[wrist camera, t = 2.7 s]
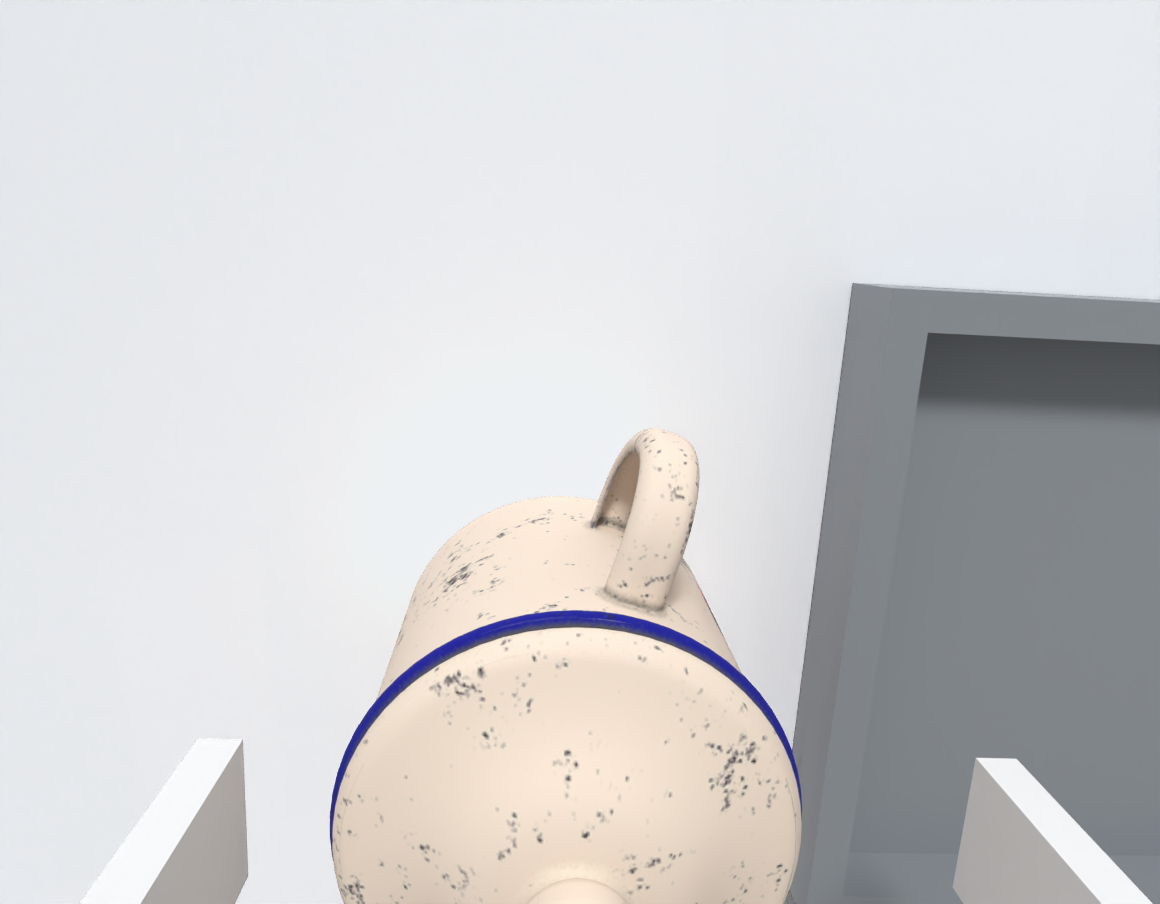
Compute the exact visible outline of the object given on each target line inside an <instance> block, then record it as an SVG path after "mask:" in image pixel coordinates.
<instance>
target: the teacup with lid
mask: <svg viewBox="0 0 1160 904" xmlns="http://www.w3.org/2000/svg"><path fill="white" fill-rule="evenodd" d="M698 490H699V464H698V459H697V455H696V452H695V450H694V448H693V446H692V445H691V444H690V443H689V441H688V440H686V439H685V438H683V437H681V436H679V435H677V434H674V433H671V432H668V431H665V430H661V429H656V428H649V429H645V430H642V431H640V432H639V433H637V434H636V435H635V436H633V437H632V438H631V439H630V440H629V442H628V443H627V444H626V445H625V446H624V448H623V449H622V451H621V452H620V454H619V455H618V457H617V459H616V461H615V463H614V465H613V467H612V469H611V471H610V473H609V475H608V478H607V480H606V482H605V485H604V487H603V490H602V492H601V495H600V498H599V500H598V501H595V500H591V499H585V498H578V497H564V496H556V497H541V498H533V499H527V500H523V501H519V502H515V503H512V504H509V505H506V506H502V507H500V508H497V509H495V510H493V511H491V512H488V513H486V514H484V515H483V516H481V517H479V518H477V519H475V520H474V521H472V522H471V523H469V524H468V525H466V526H465V527H464V528H462V529H461V530H460V531H458V532H457V533H456V534H455V535H454V536H453V537H451V538H450V539H449V540H448V541H447V542H446V543H445V544H444V545H443V546H442V547H441V548H440V549H439V551H438V552H437V553H436V555H435V556H434V557H433V558H432V560H431V561H430V562H429V564H428V565H427V567H426V569H425V570H424V572H423V573H422V575H421V577H420V579H419V581H418V583H417V585H416V587H415V590H414V592H413V595H412V598H411V601H410V603H409V606H408V609H407V612H406V615H405V618H404V621H403V624H402V627H401V630H400V633H399V636H398V638H397V641H396V644H395V647H394V650H393V653H392V656H391V659H390V662H389V665H388V668H387V670H386V673H385V676H384V679H383V682H382V685H381V688H380V691H379V694H378V697H377V700H376V702H375V703H374V704H373V705H372V707H371V708H370V709H369V710H368V712H367V713H366V715H365V716H364V718H363V720H362V721H361V723H360V724H359V726H358V727H357V729H356V731H355V732H354V734H353V736H352V739H351V741H350V743H349V745H348V747H347V749H346V751H345V753H344V756H343V759H342V762H341V764H340V767H339V770H338V773H337V777H336V781H335V785H334V790H333V795H332V803H331V811H330V841H331V850H332V857H333V861H334V869H335V874H336V878H337V883H338V887H339V891H340V894H341V896H342V899H343V902H344V904H784V902H785V900H786V897H787V895H788V892H789V889H790V887H791V884H792V881H793V877H794V874H795V870H796V866H797V863H798V857H799V851H800V844H801V827H802V797H801V786H800V781H799V775H798V770H797V766H796V763H795V760H794V756H793V753H792V750H791V747H790V745H789V742H788V740H787V738H786V735H785V733H784V731H783V728H782V727H781V725H780V723H779V721H778V720H777V718H776V716H775V714H774V713H773V711H772V709H771V708H770V707H769V705H768V704H767V702H766V701H765V700H764V698H763V697H762V696H761V694H760V693H759V692H758V691H757V690H756V688H755V687H754V686H753V685H752V684H751V683H750V682H749V681H748V680H747V679H746V677H745V676H744V675H742V673H741V671H740V669H739V667H738V665H737V663H736V661H735V659H734V657H733V655H732V653H731V651H730V649H729V647H728V645H727V642H726V640H725V638H724V636H723V634H722V632H721V630H720V628H719V626H718V624H717V622H716V620H715V618H714V616H713V614H712V612H711V610H710V608H709V606H708V603H707V601H706V599H705V597H704V595H703V593H702V591H701V589H700V587H699V585H698V583H697V581H696V579H695V577H694V575H693V573H692V571H691V570H690V568H689V566H688V564H687V563H686V561H685V560H684V559H683V554H684V551H685V548H686V545H687V542H688V538H689V535H690V531H691V527H692V523H693V519H694V514H695V510H696V504H697V498H698Z"/></svg>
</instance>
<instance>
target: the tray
mask: <svg viewBox="0 0 1160 904" xmlns="http://www.w3.org/2000/svg"><path fill="white" fill-rule="evenodd" d="M792 753H793V756H794V760H795V763H796V766H797V770H798V775H799V781H800V786H801V797H802V827H801V844H800V851H799V857H798V863H797V866H796V870H795V874H794V877H793V881H792V884H791V887H790V889H789V890H790V892H791V895H792V897H793V900H794V902H795V904H963V903H962V901H961V900H960V898H959V896H958V895H957V893H956V892H955V890H954V889H953V882H954V877H955V871H956V865H957V860H958V854H959V848H960V843H961V837H962V832H963V826H964V820H965V815H966V809H967V804H968V798H969V792H970V787H971V781H972V776H973V770H974V764H975V759H976V758H1008V759H1017V760H1018V761H1019V762H1020V763H1021V764H1022V765H1023V766H1024V767H1025V768H1026V769H1027V770H1028V772H1029V773H1030V774H1031V775H1032V776H1033V777H1034V778H1035V779H1036V780H1037V781H1038V782H1039V783H1040V784H1041V785H1042V786H1043V788H1044V789H1045V790H1046V791H1047V792H1048V793H1049V794H1050V795H1051V796H1052V797H1053V798H1054V799H1055V800H1056V801H1057V802H1058V803H1059V805H1060V806H1061V807H1062V808H1063V809H1064V810H1065V811H1066V812H1067V813H1068V814H1069V815H1070V816H1071V817H1072V818H1073V819H1074V820H1075V822H1076V823H1077V824H1078V825H1079V826H1080V827H1081V828H1082V829H1083V830H1084V831H1085V832H1086V833H1087V834H1088V835H1089V836H1090V837H1091V839H1092V840H1093V841H1094V842H1095V843H1096V844H1097V845H1098V846H1099V847H1100V848H1101V849H1102V850H1103V851H1104V852H1105V853H1106V854H1107V856H1108V857H1109V858H1110V859H1111V860H1112V861H1113V862H1114V863H1115V864H1116V865H1117V866H1118V867H1119V868H1120V869H1121V870H1122V872H1123V873H1124V874H1125V875H1126V876H1127V877H1128V878H1129V879H1130V880H1131V881H1132V882H1133V883H1134V884H1135V885H1136V886H1137V887H1138V889H1139V890H1140V891H1141V892H1142V893H1143V894H1144V895H1145V896H1146V897H1147V898H1148V899H1149V900H1150V901H1151V902H1152V903H1153V904H1160V300H1149V299H1131V298H1113V297H1095V296H1076V295H1058V294H1040V293H1022V292H1004V291H985V290H967V289H949V288H931V287H912V286H894V285H876V284H858V283H853V286H852V294H851V302H850V309H849V317H848V325H847V333H846V340H845V348H844V356H843V364H842V371H841V379H840V387H839V395H838V402H837V410H836V418H835V426H834V434H833V441H832V449H831V457H830V465H829V472H828V480H827V488H826V496H825V503H824V511H823V519H822V527H821V534H820V542H819V550H818V558H817V565H816V573H815V581H814V589H813V596H812V604H811V612H810V620H809V627H808V635H807V643H806V651H805V659H804V666H803V674H802V682H801V690H800V697H799V705H798V713H797V721H796V728H795V736H794V744H793V752H792Z"/></svg>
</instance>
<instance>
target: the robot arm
mask: <svg viewBox="0 0 1160 904" xmlns="http://www.w3.org/2000/svg"><path fill="white" fill-rule="evenodd" d="M247 877H248V859H247V833H246V808H245V782H244V757H243V739H208V738H198V739H197V740H196V742H195V743H194V744H193V746H192V747H191V749H190V750H189V751H188V753H187V754H186V756H185V757H184V758H183V760H182V761H181V763H180V764H179V765H178V767H177V768H176V769H175V771H174V772H173V774H172V775H171V776H170V778H169V779H168V781H167V782H166V783H165V785H164V786H163V788H162V789H161V790H160V792H159V793H158V795H157V796H156V797H155V799H154V800H153V802H152V803H151V804H150V806H149V807H148V808H147V810H146V811H145V813H144V814H143V815H142V817H141V818H140V820H139V821H138V822H137V824H136V825H135V827H134V828H133V829H132V831H131V832H130V834H129V835H128V836H127V838H126V839H125V841H124V842H123V843H122V845H121V846H120V847H119V849H118V850H117V852H116V853H115V854H114V856H113V857H112V859H111V860H110V861H109V863H108V864H107V866H106V867H105V868H104V870H103V871H102V873H101V874H100V875H99V877H98V878H97V880H96V881H95V882H94V884H93V885H92V886H91V888H90V889H89V891H88V892H87V893H86V895H85V896H84V898H83V899H82V900H81V902H80V903H79V904H235V902H236V900H237V898H238V896H239V894H240V892H241V890H242V887H243V885H244V883H245V881H246V879H247ZM953 889H954V890H955V892H956V893H957V895H958V896H959V898H960V900H961V901H962V903H963V904H1153V903H1152V902H1151V901H1150V900H1149V899H1148V898H1147V897H1146V896H1145V895H1144V894H1143V893H1142V892H1141V891H1140V890H1139V889H1138V887H1137V886H1136V885H1135V884H1134V883H1133V882H1132V881H1131V880H1130V879H1129V878H1128V877H1127V876H1126V875H1125V874H1124V873H1123V872H1122V870H1121V869H1120V868H1119V867H1118V866H1117V865H1116V864H1115V863H1114V862H1113V861H1112V860H1111V859H1110V858H1109V857H1108V856H1107V854H1106V853H1105V852H1104V851H1103V850H1102V849H1101V848H1100V847H1099V846H1098V845H1097V844H1096V843H1095V842H1094V841H1093V840H1092V839H1091V837H1090V836H1089V835H1088V834H1087V833H1086V832H1085V831H1084V830H1083V829H1082V828H1081V827H1080V826H1079V825H1078V824H1077V823H1076V822H1075V820H1074V819H1073V818H1072V817H1071V816H1070V815H1069V814H1068V813H1067V812H1066V811H1065V810H1064V809H1063V808H1062V807H1061V806H1060V805H1059V803H1058V802H1057V801H1056V800H1055V799H1054V798H1053V797H1052V796H1051V795H1050V794H1049V793H1048V792H1047V791H1046V790H1045V789H1044V788H1043V786H1042V785H1041V784H1040V783H1039V782H1038V781H1037V780H1036V779H1035V778H1034V777H1033V776H1032V775H1031V774H1030V773H1029V772H1028V770H1027V769H1026V768H1025V767H1024V766H1023V765H1022V764H1021V763H1020V762H1019V761H1018V760H1017V759H1008V758H976V759H975V764H974V770H973V776H972V781H971V787H970V792H969V798H968V804H967V809H966V815H965V820H964V826H963V832H962V837H961V843H960V848H959V854H958V860H957V865H956V871H955V877H954V882H953Z"/></svg>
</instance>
